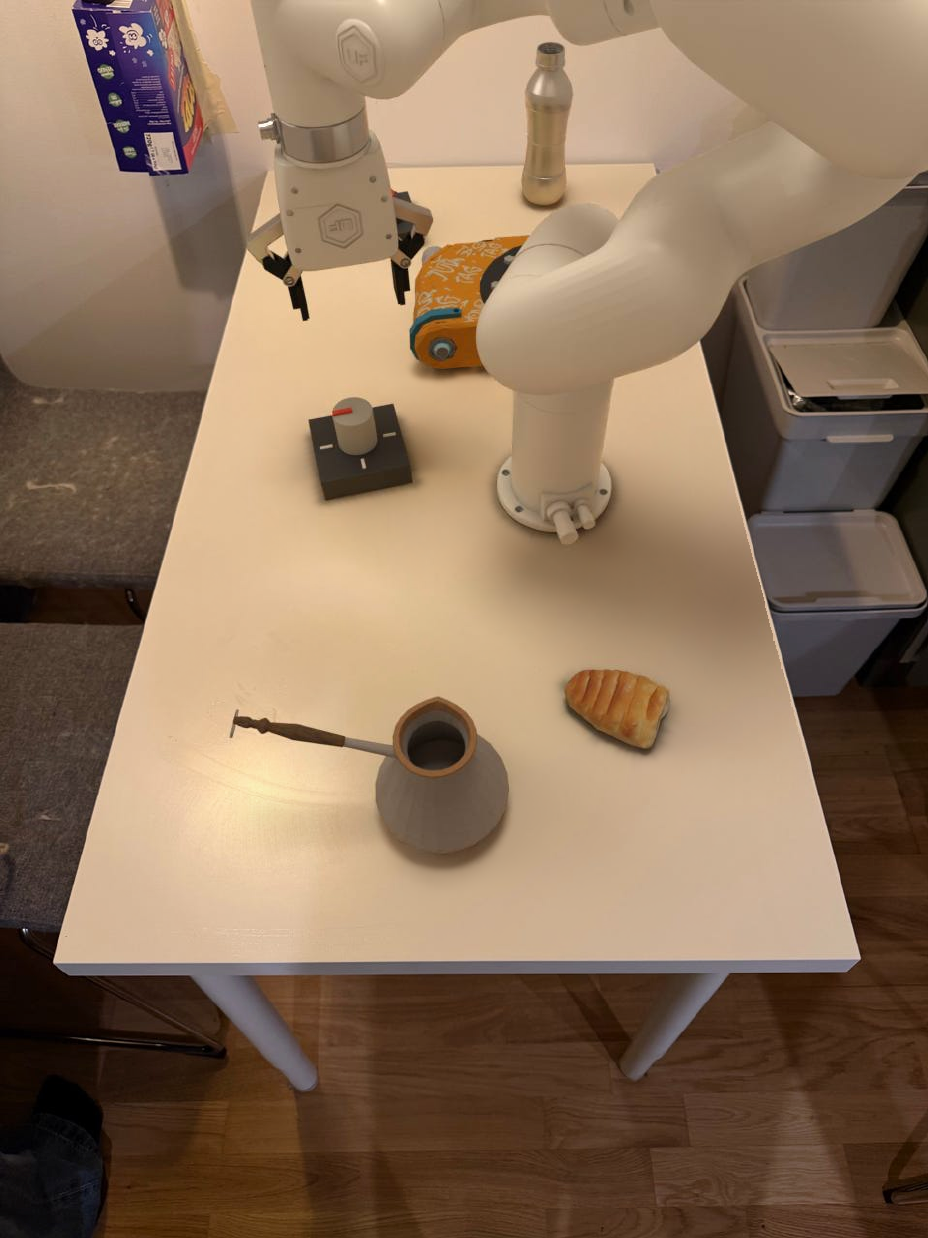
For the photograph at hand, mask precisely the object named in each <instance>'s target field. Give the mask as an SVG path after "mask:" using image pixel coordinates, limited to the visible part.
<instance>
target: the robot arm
mask: <svg viewBox="0 0 928 1238" xmlns="http://www.w3.org/2000/svg"><path fill="white" fill-rule="evenodd" d="M249 2H250V5H251V10H252V14H253V15H252V16H253V20H254V24H255V29H256V34H257V39H258V43H259V49H260V54H261V57H262V63H263V67H264V68H263V69H264V72H265V76H266V77H265V78H266V82H267V87H268V91H269V96H270V100H271V105H272V110H273V112H272V113H271V112H270V117H267V118H266V120H259V121H257V124H258V130H259V134H260V138H261V141H264V140H270V141H276V143H275V147H274V155H273V158H274V161H273V164H274V167H273V169H274V180H275V189H276V197H277V203H278V209H279V213H277V214H276V215H275V216H274V217H272V218H270V219H269V220H268V221H266V222H265V223H264V224H262V225H261V226H259V227H258V228H256V229H255V230H254V231H253V232H251V233H250V234H248V235H247V236H246V238H245V241H246V242H245V243H246V249H247V251H248V252H249V253H250V254H251V256H253V258H254V259H255V260H256V261H257V262H258V263H260V264H261V265H262V268H263V269H264V271H265V272H268V273H269V274H271V275H273V276H274V277H276V278H277V279H278V280H280V281H282V283H283V285H284V286H286V287H287V289H288V294H289V297H290V302H291V307H292V310H293V311H294V310H299V311H300V315H301V320H302V322H307V321H309V320H310V312H309V307H308V301H307V297H306V293H305V288H304V283H303V278H302V274H303V272H318V271H325V270H326V271H327V270H333V269H338V268H339V269H340V268H345V267H351V266H357V265H363V264H370V263H371V264H372V263H377V262H380V261H384V260H385V261H386V260H387V259H389V260H390V267H391V277H392V285H393V290H394V291H393V292H394V294H395V298H396V301H397V304H398V305H400V306H406V295H405V293H406V292H411V284H410V283H411V282H410V273H409V268H410V267H411V265H412V260H413V259H414V258H415V257H416V255H417V254H418V253H419V252H420V251H421V249H422V248H423V247H424V246H425V243H426V242H425V240H426V239H427V238H426V237H427V236H428V235H429V232H430V230H431V228H432V225H433V223H434V217H433V214H432V211H431V210H430V208H427V207H425V206H421V205H418V204H416V203H413V202H412V203H410V202H407V201H404V200H401V199H398V198H395V197H392V192H391V189H392V186H391V181H390V176H389V171H388V166H387V162H386V159H385V154H384V151H383V149H382V146H381V143H380V140H379V138H378V137H377V134H376V133H375V132H374V131H373V130H372V129H370V126H369V117H368V109H367V100H366V97H368V98H371V99H376V100H391V99H395V98H398V97H400V96H402V95H404V94H405V93H406V92H408V91H409V90H410V89H411V88H412V87H414V85H415V84H417V82H418V81H419V80H420V79H421V78H422V77H423V76H424V75H425V74H426V73H427V72H428V70H429V69H431V67H433V65H434V64H435V63H436V62H437V61H438V60H439V59H440V58H441V57H442V56H443V55H444V53H445V52H446V51H447V50H448V49H449V48H450V47H451V46H452V45H453V44H454V43H455V42H456V41H458V39H459V38H461V37H463V36H464V35H466V34H468V33H471V32H474V31H477V30H480V29H483V28H486V27H490V26H494V25H497V24H500V23H501V24H502V23H504V22H509V21H511V20H512V21H513V20H517V19H520V18H526V17H534V16H543V17H549V18H550V20H551V22H552V24H553V26H554V28H555V29H556V31H557V32H558V33H559V35H560V36H561V37H562V39H564V40H565V41H567V42H568V43H570V44H571V45H575V46H579V47H584V46H591V45H595V44H600V43H603V42H607V41H610V40H614V39H615V40H616V39H620V38H622V37H623V38H624V37H627V36H631V35H635V34H639V33H643V32H646V31H651V30H655V29H659V28H660V29H661V30H662V32H663V33H664V34H665V36H666V37H667V39H668V41H670V42H671V43H672V44H673V45H674V46H675V48H676V49H678V50H679V51H680V52H681V54H682V55H684V57H686V59H688V60H689V61H690V62H691V63H692V64H694V65H695V66H696V67H697V68H699V69H700V70H701V71H702V72H704V74H706V75H708V76H709V77H710V78H711V79H712V80H714V82H716V83H717V84H719V85H720V86H721V87H723V88H724V89H726V90H728V91H729V92H730V93H731V94H732V95H734V96H736V97H737V98H738V99H740V100H741V101H743V102H744V103H746V104H747V105H748V106H750V107H751V108H753V109H754V110H755V111H757V112H758V113H760V114H762V115H763V116H764V117H766V118H767V119H768V120H769V121H767V122H766V123H763V124H762V125H760V126H758V127H757V128H754V129H751V130H749V131H748V132H746V133H744V134H741V135H738V136H737V137H734V138H733V139H730V140H729V141H726V142H724V143H721V144H720V145H717V146H716V147H713V148H711V149H709V150H707V151H705V152H702V153H700V154H698V155H695V156H694V157H691V158H689V159H687V160H685V161H683V162H680V163H678V164H675V165H673V166H671V167H669V168H666V169H665V170H663V171H661V172H659V173H656V175H654V176H652V177H651V178H650V179H649V180H648V181H647V182H645V184H644V185H643V186H642V187H641V188H640V189H639V191H638V192H637V193H636V194H635V195H634V197H633V198H632V199H631V201H630V202H629V204H628V206H627V207H626V209H625V210H624V212H623V214H622V215H621V217H620V218H619V217H618V216H617V215H616V214H615V213H613V212H612V211H611V210H609V209H607V208H605V207H604V206H601V205H598V204H593V203H588V202H579V203H578V202H577V203H572V204H568V205H565V206H563V207H561V208H558V209H556V210H554V211H553V212H552V213H550V214H548V215H547V216H546V217H545V218H543V220H541V221H540V222H539V223H538V225H537V226H536V227H535V228H534V229H533V230H532V231H531V233H530V234H529V235H530V236H529V237H528V238H527V240H526V241H525V243H524V244H523V246H522V247H521V248H520V250H519V251H518V253H517V254H516V256H515V257H514V259H513V260H512V262H511V264H510V265H509V267H508V269H507V271H506V272H505V274H504V275H503V276H502V278H501V279H500V281H499V282H498V284H497V285H496V287H495V288H494V290H493V291H492V293H491V294H490V296H489V298H488V299H487V301H486V303H485V305H484V307H483V309H482V311H481V313H480V316H479V319H478V323H477V329H476V345H477V350H478V354H479V357H480V360H481V362H482V364H483V366H482V367H483V368H484V369H485V371H486V372H487V373H488V374H489V376H490V377H491V378H493V380H495V381H496V382H498V383H499V384H500V385H502V386H503V387H504V388H506V389H509V390H512V421H511V422H512V423H511V424H512V427H511V455H509V457H507V459H505V461H504V462H503V463H502V465H501V466H500V468H499V471H498V473H497V479H496V493H497V497H498V500H499V503H500V505H501V507H502V508H503V509H504V511H505V512H506V513H507V514H508V515H509V516H510V517H511V518H513V520H514V521H516V522H518V523H520V524H522V525H523V526H525V527H528V528H530V529H533V530H536V531H543V532H547V533H549V532H550V533H557V536H558V538H559V541H560V543H561V544H562V545H571V544H574V543H575V542H576V541H578V539H579V533H578V531H577V530H579V529H580V528H583V529H584V530H590V529H592V528H594V527H595V526H596V520H597V519H598V518H599V517H600V516H601V515H602V514H603V513H604V511H605V510H606V509H607V506H609V505H608V504H609V501H610V499H611V493H612V478H611V474H610V472H609V469H608V468H607V466H606V465H605V463H604V462H603V461H602V460H603V453H604V445H605V440H606V432H607V426H608V421H609V413H610V407H611V400H612V392H613V388H614V383H615V379H618V378H620V377H625V376H627V375H630V374H634V373H638V372H641V371H644V370H645V371H646V370H648V369H650V368H654V367H657V366H660V365H663V364H665V363H668V362H669V361H672V360H673V359H675V358H678V357H679V356H681V355H682V354H685V353H686V352H687V351H689V350H690V349H691V348H693V347H695V345H697V343H699V342H700V341H701V340H702V339H703V338H704V337H705V336H706V334H707V333H708V332H709V331H710V330H711V329H712V328H713V325H714V324H715V322H716V320H717V319H718V317H719V316H720V314H721V311H722V310H723V307H724V305H725V304H726V301H727V299H728V297H729V294H730V292H731V290H732V288H733V286H734V285H735V284H736V282H737V281H738V280H739V278H740V277H741V276H742V275H743V274H745V273H746V272H748V271H750V270H752V269H753V268H756V267H757V266H760V265H761V264H764V263H766V262H769V261H771V260H775V259H777V258H779V257H781V256H784V255H786V254H789V253H792V252H793V251H796V250H798V249H801V248H803V247H805V246H809V245H810V244H813V243H815V242H817V241H820V240H823V239H825V238H828V237H829V236H832V235H834V234H836V233H839V232H840V231H842V230H844V229H847V228H848V227H851V226H852V225H854V224H855V223H858V222H859V221H861V220H862V219H864V218H865V217H867V216H869V215H870V214H872V213H874V212H875V211H876V210H878V209H880V208H881V207H882V206H883V205H885V204H886V203H887V202H888V201H890V200H891V199H893V198H894V197H895V196H896V195H897V194H898V193H899V192H901V191H902V190H903V189H904V188H905V187H906V186H908V184H910V183H911V182H912V181H913V180H914V179H915V178H916V177H917V176H918V175H919V174H922V173H924V172H927V171H928V0H250V1H249ZM396 218H398V219H401V220H404V221H407V222H410V223H413V228H412V229H411V230H410V231H409V232H408V233H407V235H406V236H405V237H404V238H403V239H401V238H399V237H398V233H397V224H396ZM281 237H284V241H285V245H286V249H287V251H286V252H285V254H284V256H283V257H282V256H281V255H279V254H278V253H276V252H274V251H272V250H270V249H269V247H268V246H270V245H272V244H273V243H275V242H276V241H277V240H278V239H280V238H281Z"/></svg>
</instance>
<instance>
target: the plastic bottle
mask: <svg viewBox="0 0 928 1238" xmlns="http://www.w3.org/2000/svg"><path fill="white" fill-rule="evenodd" d="M535 66H536V69H535V71H534V72H533V73H532V75H531V76H530V78H529V80H528V82H527V84H526V87H525V90H524V102H525V103H524V104H525V114H526V133H527V135H526V138H527V140H526V152H525V158H524V164H523V165H524V166H523V169H522V174H521V179H520V183H521V189H522V193H523V195H524V196H525V199H527V201H529V202H530V203H532V204H535V205H539V206H549V205H554V204H555V203H557V202H559V201H560V200H561V198H563V196H564V194H565V190H566V187H567V170H566V138H567V136H566V135H567V130H568V124H569V123H568V122H569V118H570V114H571V109H572V103H573V100H574V99H573V97H574V89H573V85H572V81H571V80H570V78H569V76H568V74H567V73H566V72H565V70H564V67H565V66H566V47H565V46H564V45H563V44H561V43H560V42H556V41H546V42H542V43H540V44H539V45H537V47H536V57H535Z"/></svg>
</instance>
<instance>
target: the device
mask: <svg viewBox="0 0 928 1238" xmlns="http://www.w3.org/2000/svg"><path fill="white" fill-rule="evenodd" d="M529 236H530V234H527V235H512V236H500V237H498V236H497V237H494V238H493V239H483V240H481V241H479V240H478V241H473V242H461V243H460V242H459V243H453V244H449V243H447V244H446V245H444V246H443V247H440V246H438V245H433V246H428V247H427V248H426V249H424V251H423V252H422V256H421V267H420V269H419V272H418V273H417V275H416V278H415V279H414V307H413V312H412V325H411V327H410V328H409V349H410V351H411V353H412V354H413V356H414V358H415V359H416V360H417V361H419V362H420V363H422V364H424V365H426V366H427V367H430V368H432V369H443V370H444V369H454V368H469V367H484V366H483V364H482V362H481V360H480V357H479V354H478V350H477V345H476V329H477V323H478V319H479V316H480V313H481V311H482V309H483V307H484V305H485V303H486V301H487V299H488V298H489V296H490V294H491V293H492V291H493V290H494V288H495V287H496V285H497V284H498V282H499V281H500V279H501V278H502V276H503V275H504V274H505V272H506V271H507V269H508V267H509V265H510V264H511V262H512V260H513V259H514V257H515V256H516V254H517V253H518V251H519V250H520V248H521V247H522V246H523V244H524V243H525V241H526V240H527V238H528V237H529Z"/></svg>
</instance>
